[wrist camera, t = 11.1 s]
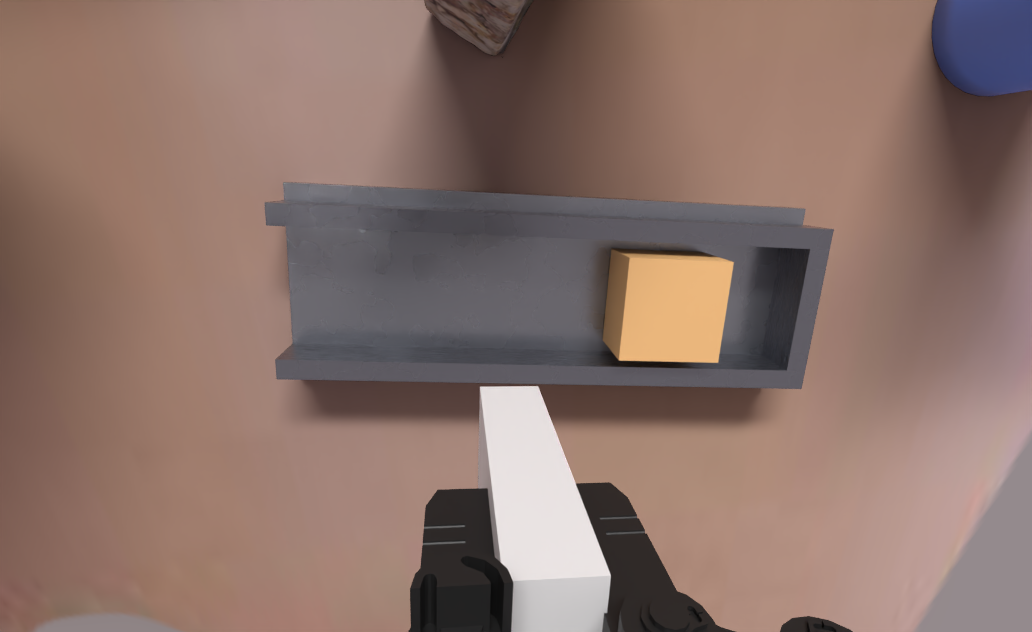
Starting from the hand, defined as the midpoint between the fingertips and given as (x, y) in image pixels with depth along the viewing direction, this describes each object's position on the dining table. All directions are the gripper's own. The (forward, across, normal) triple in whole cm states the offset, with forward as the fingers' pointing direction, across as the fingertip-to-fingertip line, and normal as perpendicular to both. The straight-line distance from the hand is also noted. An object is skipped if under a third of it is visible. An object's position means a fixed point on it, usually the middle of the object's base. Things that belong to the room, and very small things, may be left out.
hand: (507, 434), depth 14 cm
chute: (+21, +5, -1) cm, 21 cm away
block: (+19, +11, -1) cm, 23 cm away
